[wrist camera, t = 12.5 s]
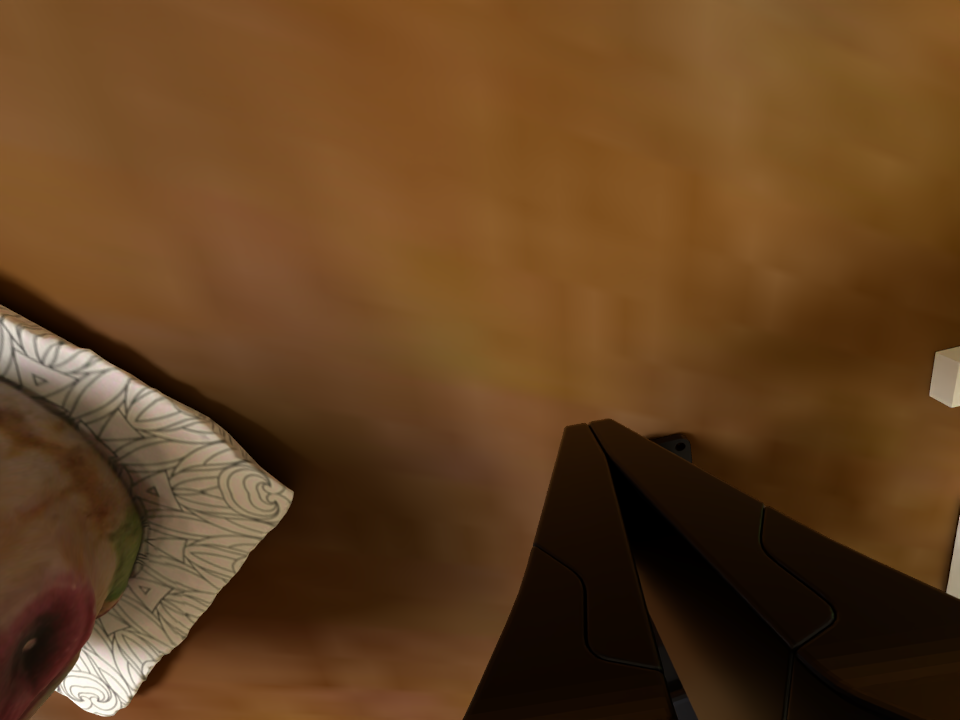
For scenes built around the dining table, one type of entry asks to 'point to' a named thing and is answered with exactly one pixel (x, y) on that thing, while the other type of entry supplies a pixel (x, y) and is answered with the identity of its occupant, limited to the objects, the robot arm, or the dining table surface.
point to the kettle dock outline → (946, 377)
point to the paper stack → (955, 568)
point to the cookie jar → (108, 522)
